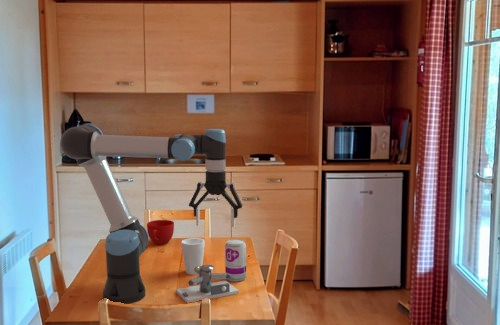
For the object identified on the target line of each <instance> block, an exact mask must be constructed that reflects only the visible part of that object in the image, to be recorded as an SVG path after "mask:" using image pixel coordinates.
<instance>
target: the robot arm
mask: <svg viewBox="0 0 500 325" xmlns="http://www.w3.org/2000/svg"><path fill="white" fill-rule="evenodd" d="M59 141H60V148H61V151H62V152H63V153H64V155H66V156H67V157H68V158H70V159H73V160H75V161H76V163H77V165H78V166H79V167H82V168H83V169H84V170H85V172H86V174H87V177H88V178H89V181H90V183H91V184H92V185H91V186H92V187H93V189H94V191H95V193H96V196H97V197H98V200H99V202H100V205H101V207H102V209H103V211H104V213H105V215H106V217H107V220H108V223H109V224H110V227H109V229H108V231H109V234H108V235H107V236H106V238H105V243H104V248H105V260H106V262H105V263H106V280H105V283H104V288H103V291H102V299H103V298H107V299H109V300H110V301H113V302H121V303H127V304H131V303H135V302H138V301H141V300H142V299H144V298H145V297H146V287H145V284H144V282H143V279H142V276H141V271H140V257H141V255H142V254H143V253H144V252H145V250H146V249H148V244H149V240H150V238H149V235H148V231H147V228H146V227H144V226H143V225H142V224H141V223H140V220H139V218H138V217H136V216H133V215H132V212H131V211H130V208H129V206H128V204H127V202H126V200H125V197H124V195H123V192H122V191H121V189H120V187H119V185H118V182H117V180H116V178H115V176H114V173H113V171H112V168H111V167H110V165H109V162H108V160H107V157H114V158H115V157H116V158H118V157H121V158H146V159H147V158H149V159H151V158H152V159H170V160H171V159H172V160H178V161H182V162H183V161H188V160H189V159H191V158H192V157H193V156H194V155H204V156H205V170H206V171H205V183H204V182H201V181H199V182H197V184H196V189H195V191H194V194H193V196H192V197H191V199H190V202H189V204H188V207H190V208H191V207H192V208H193V216H194V217H196V224H195V225H196V226H200V224H201V217H200V216H201V214H200V212H201V211H200V210H201V207H200V205H201V203H202V202H203V201H204V199H206V198H207V196H208V195H211V196H222V197H223V198H224V199H225V200H226V201H227V203H228V204H229V205H230V206H231V207H232V209H231V227H232V228H234V227H235V226H236V219H237V218H238V214H239V213H238V212H239V209H242V207H243V204H242V201H241V200H240V197H239V195H238V192H237V191H236V189H235V184H234V182H231V183H227V182H226V179H227V178H226V177H227V175H226V167H227V165H226V164H227V163H226V162H227V161H226V159H227V158H226V152H227V151H226V146H227V139H226V131H225V130H224V129H221V128H209V129H206V130H205V133H203V134H186V133H185V134H184V133H182V134H181V133H180V134H174V135H173V137H172V136H171V137H168V136H144V135H143V136H140V135H121V134H120V135H119V134H118V135H117V134H112V135H111V134H104V133H103V132H102V130H101V129H100V128H98V127H97V126H96V125H94V124H88V123H85V124H84V123H83V124H80V125H77V126H73V127H72V126H71V127H69V128H68V129H66V130H65V131H64V132H63V133H62V135H61V138H60V140H59ZM203 187H204V188H205V189H206V191H205V192H204V194H202V196H201V197H200V198H199V199H198V200H197V201H196V199H197V198H198V195H199V193H200V191H201V190H202V189H203ZM226 188H228V190H230V192H231V195H232V196H233V199H234V200H233V199H232V198H231V196H230V195H229V193H228V192H227V191H226ZM195 201H196V203H195Z"/></svg>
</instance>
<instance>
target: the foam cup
mask: <svg viewBox="0 0 500 325" xmlns="http://www.w3.org/2000/svg"><path fill="white" fill-rule="evenodd" d="M180 242H181V249H182V250H181V251H182V257H183V262H184V269H185V274H187V275H191V276H195V275H198V274H197V273H196V272H195V271H194V268H195V267H196V266H198V267H200V266H202V265H203V261H204V254H205V248H206V242H205V239H203V238H197V237H189V238H185V239H182V240H181V241H180Z"/></svg>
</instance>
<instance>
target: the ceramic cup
mask: <svg viewBox="0 0 500 325" xmlns="http://www.w3.org/2000/svg"><path fill="white" fill-rule="evenodd" d="M146 230H147V232H148V236H149V240H150V241H151V242H152V243H153V244H154V245H157V246H165V245H167V244H169V243H170V241H171V239H172V237H174V236H173V235H174V232H175V222H174V221H172V220H169V219H156V220H150V221H148V222H147V223H146Z"/></svg>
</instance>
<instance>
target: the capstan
mask: <svg viewBox="0 0 500 325" xmlns="http://www.w3.org/2000/svg"><path fill="white" fill-rule="evenodd" d="M214 270H215V266H214V265H212V264H202V266H200V267H198V266H196V267H195V268H194V271H195V272H196V273H197V274H196V275H198V276H195V277H193V278H191V279H189V280H188V281H187V284H188V286H189V287H191V286H196V284H197V285H199V286H200V292H203V293H207V292H211V286H212V284H211V283H212V280H227V279H229V278H230V274H228V273H225V272H224V273H223V272H221V273H217V272H216V273H215V272H212V271H214Z"/></svg>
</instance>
